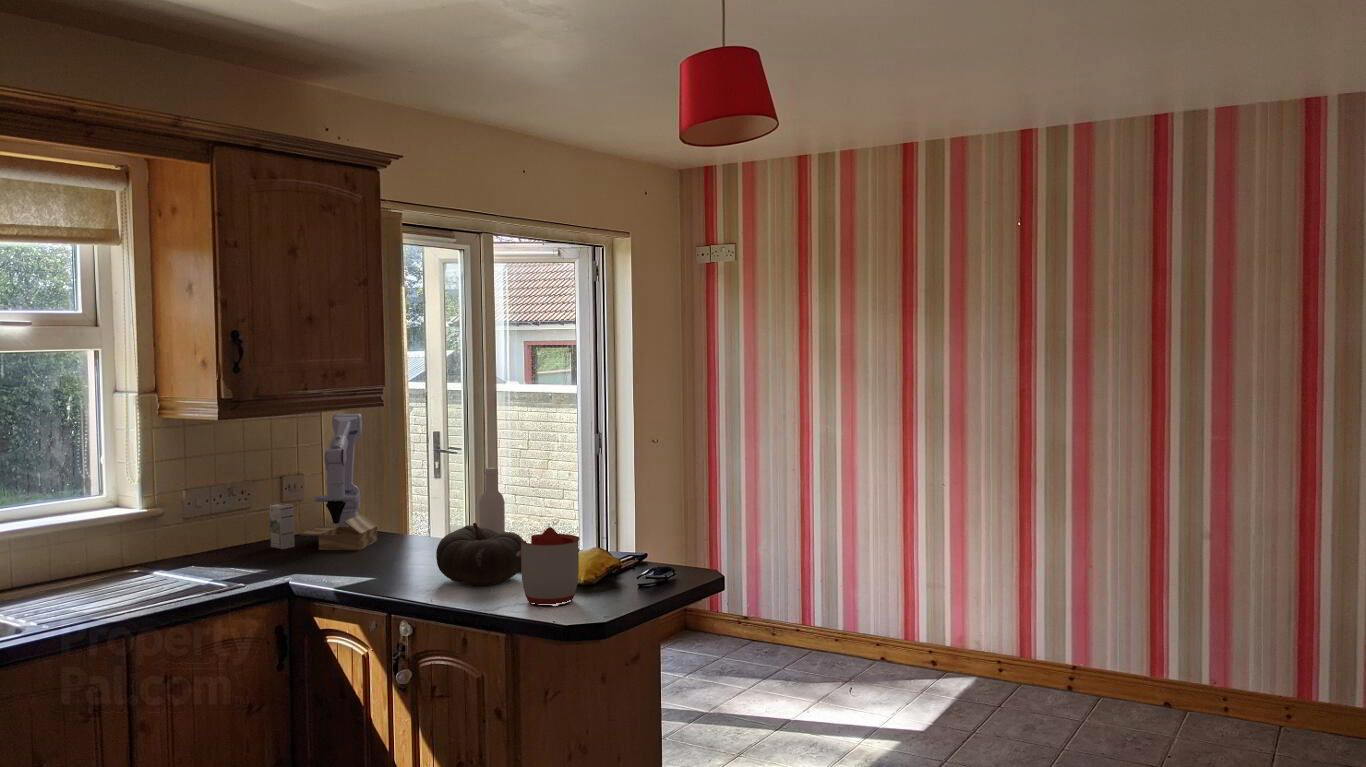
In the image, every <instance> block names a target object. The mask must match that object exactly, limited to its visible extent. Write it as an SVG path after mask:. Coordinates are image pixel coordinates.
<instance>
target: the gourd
mask: <svg viewBox="0 0 1366 767" xmlns="http://www.w3.org/2000/svg"><path fill="white" fill-rule="evenodd" d="M520 539H522V540H524V539H523V537H522V536H520V535H519V534H518V533H515V532H512V531H505V532H502V533H497V532H494V531H492V530H489V529H487V528H483V529H482V528H480V527H479V525H478V523H476V522H473V523H472V524H468V525H467V524H466V525H464V526H463V527H461V528H458V529H456V530H454V531H452V532H449V533H448V534H446V535H445V536H444V537H443V538H441V540H440V541H439V543H438V545H437V547H436V552H435V553H436V554H435V555H436V556H435V557H436V565H437V567H438V570H439V571H440V573H442V574H443V575H444V576H445V577H446V578H448V579H449V580H451V581H453V582H456V583H465V584H467V585H471V586H482V585H483V586H490V585H489V584H491V585H496V584H498V583H502V582H504V581H506V580H509V579H511V578H513V577H515V575H517V574H518V573H519V572H521V559H520V556H516V554H517V552H518V551H520ZM495 583H496V584H495Z"/></svg>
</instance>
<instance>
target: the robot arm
mask: <svg viewBox="0 0 1366 767" xmlns="http://www.w3.org/2000/svg"><path fill="white" fill-rule="evenodd" d="M331 427H332V430H333V435H334V436H332V438H331V440H330V444H329V447H328V448H327V449H325V450H324V465H325V471H326V495H316V496H314V498H313V502H314V503H326V504H325V507H327V510H328V512H329V515H330V516H331V520H332V524H333V525H334V527H349V526H348V525H346V524H345V523H344V521H346V520H349V519H351V518H354V517H356V516H358V515H360V514H359V512H358V511H359V509H360V508H361V503H362V502H361V501H362V498H361V490H360V488H359V487H358V486H357V485H355V484H354V469H355V468H354V467H355V454H356V453H355V450H356V444H357V440H358V439H360V438H362V434H363V416H362V414H361V413H333V415H332V417H331Z"/></svg>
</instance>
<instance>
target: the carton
mask: <svg viewBox="0 0 1366 767" xmlns="http://www.w3.org/2000/svg"><path fill="white" fill-rule="evenodd" d="M299 536H302V537H303V536H308V537H309V536H311V537H312V536H313V537H315V536H317V537H318V550H323V551H324V550H325V551H326V550H327V551H360V550H363V549H365V548H367V547H369V546H371V545H374V543H375V544H376V543H378V526H377V527H376V528H374V529H372V530H369V531H367V532H365V533H363V534H361V535H360V534H359V533H357V532H356V531H355V530H353V529H352V528H350V527H335V526H316V527H314V528H311V529H309V530H306V531H304V532H301V533H299Z"/></svg>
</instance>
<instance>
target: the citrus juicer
mask: <svg viewBox="0 0 1366 767" xmlns="http://www.w3.org/2000/svg"><path fill="white" fill-rule="evenodd" d="M522 539H523V538H522ZM522 539H520V551H518V552H517V554H516V556H520V559H521V569H520V572H521V582H522V588H523V590H524V595H525V598H526V600H527V602H528V601H529V602H531V603H535V604H556V603H562V602H567V601H569V600H572V599H573V600H574V597H575V595H576V591H577V587H578V582H579V575H580V574H579V571H580V569H579V566H580V565H579V564H580V563H579V561H580V560H579V559H580V555H579V554H580V553H579V551H580V550H579V549H580V548H579V545H580V544H579V541H580V537H579V536H578V535H573V534H568V533H558V532H557V531H556V530H555V529H554V528H552V527H551V526H549V527H548V528H546V529H545V530H544V531H543V532H542V533H539V534H537V533H536V534H532V535H531V538H530V543H529V542H527V541H526V540H524V539H523V540H522ZM573 600H572V601H573ZM529 602H528V603H529Z"/></svg>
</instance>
